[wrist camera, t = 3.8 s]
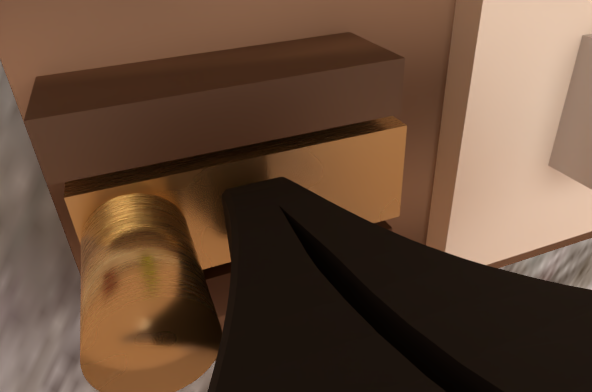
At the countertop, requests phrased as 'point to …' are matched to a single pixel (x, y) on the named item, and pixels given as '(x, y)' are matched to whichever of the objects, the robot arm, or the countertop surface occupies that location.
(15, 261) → the countertop surface
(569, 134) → the cover
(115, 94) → the box base
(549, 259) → the countertop surface
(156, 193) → the brass bolt
